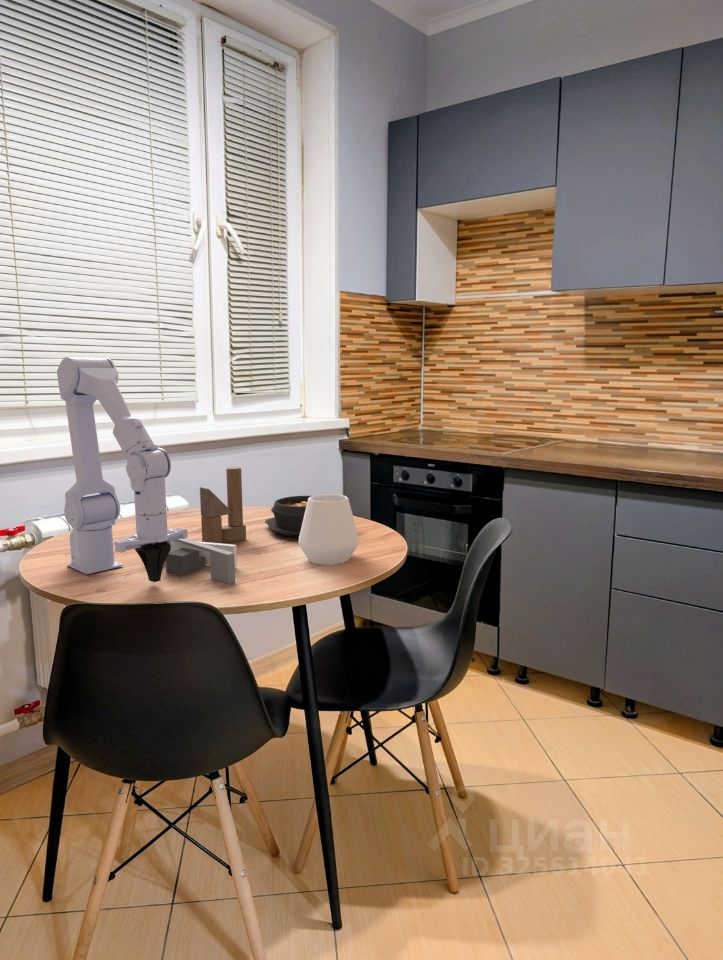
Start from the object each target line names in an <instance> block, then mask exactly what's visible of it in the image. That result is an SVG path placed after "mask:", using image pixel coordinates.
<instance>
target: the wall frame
mask: <svg viewBox="0 0 723 960" xmlns="http://www.w3.org/2000/svg"><path fill="white" fill-rule="evenodd" d="M173 541H176V542H179V543H183V544H186V545H189V546H192V547H195V548H199V549H202V550H205V551H208V552H210V565H209V566H210V578H211V579H212V580H216V581H219V582H221V583H224V584H227V585H231V584H234V583H236V569H235V568H236V567H235V561H234V553H233V552H229V551H226V550H223V549H219V548H216V547H213V546H209V545H206V544H203V543H199V542H200V541H198V542H196V540H193V539H189V538H186V539H182V538H181V539H177V540H173ZM167 544H170V541H168V542H167ZM165 563H166V560H165Z"/></svg>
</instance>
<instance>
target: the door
mask: <svg viewBox="0 0 723 960" xmlns="http://www.w3.org/2000/svg"><path fill="white" fill-rule="evenodd" d="M195 541H196V540H195ZM196 542H199V543H203V544H206V545H209V546H213V547H216V548H219V549H223V550H226V551H229V552H233V553H234V561H235V568H236V567H237V566H238V562H237V561H238V559H237V558H238V557H237V553H238V552H237V544H232V543H222V544H221V543H210V542H202V541H198V540H197V541H196ZM170 545H171V550H170V552H171V551H174V550H177V549H180V548H187V549H193V550H199V556H201V557H205V560H206V566H207V565H208V566H210V552H208V551H205V550H202V549H199V548H195V547H192V546H189V545H186V544H183V543H179V542H176V541H173V540H172V541H170Z"/></svg>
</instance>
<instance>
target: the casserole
mask: <svg viewBox="0 0 723 960" xmlns="http://www.w3.org/2000/svg"><path fill="white" fill-rule="evenodd" d="M311 496H312V495H296V496H295V495H294V496H293V495H292V496H287V497H286V496H285V497H281V498H279V499H276V500H275V501H274V504H273V507H271V509H270V511H271V512H272V514H273V517H270V518H268V519H265V521H264V523H265V524H266V525H267V527H268V529H269V530H271V531H273V532H275V533H277V534H278V533H279V534H281V535H284V536H287V537H292V538H299V535H300V531H301V527H302V523H303V518H304V514H305V510H306V506H307V502H308V498H309V497H311Z"/></svg>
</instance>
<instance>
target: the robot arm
mask: <svg viewBox="0 0 723 960" xmlns="http://www.w3.org/2000/svg"><path fill="white" fill-rule="evenodd" d="M56 375H57V382H58V391H59V395H60V399H61V400H63V401H64V403H65V409H66V417H67V423H68V430H69V436H70V437H69V438H70V445H71V451H72V452H71V453H72V461H73V467H74V475H75V479H76V481H75V483H74V484H73V485H72V486H71V487H70V488H68V490H67V491H66V492H65V493H64V498H65V499H64V500H65V501H64V502H65V503H64V504H65V505H64V509H63V511H64V516H65V520H66V522H67V523H68V525H69V526H70V527H71V531H70V534H69V548H70V561H71V562H68V563H67V565H66V566H68V567H70V568H72V569H74V570H76V571H79V572H81V573H83V574H85V575H90V574H94V573H95V574H96V573H100V572H104V571H108V570H111V569H116V568H121V567H123V566H124V565H123V563H121V562H118V561H115V552H118V553H121V554H122V553H125V552H127V551H129V550H131V551H132V550H135V552H136V554H137V555H138V557H139V558H140V559H141V562H142V563H143V566H144V569H145V571H146V574H147V578H148V581H150V582H152V583H156V582H160V581H161V580H162V574H163V569H164V565H165V564H166V562H165V560H166V558H167V556H168V554H169V552H170V550H171V545H170V544H167V542H168V541H172V540H177V539H181V538H182V539H189V538H188V528H184V527H177V528H176V527H175V528H169V529H168V517H167V516H168V514H167V499H166V498H167V496H166V494H167V493H166V478H168V476H169V475H170V473H171V468H172V464H171V463H172V462H171V458H170V456H169V454H168V452H167V451H166V450H165V449H164V448H161V447H160V446H159V445H158V444H155V443H154V441H153V440H152V438H151V436H150V435H149V433H148V431H147V429H146V427H145V426H144V424H143V423H142V421H141V419H139V418H138V417H137V418H136V417H133V416H132V414H131V412H130V410H129V408H128V406H127V404H126V401H125V398H124V397H123V394H122V393H121V390H120V387H119V386H118V382H119V371H118V369H117V366H116V365H115V363H114V361H113V360H112V359H111V358H109V357H71V356H67V357H66V356H65V357H63V359H62V360H61V362H60V364H59V365H58V367H57V370H56ZM97 400H98V402H99V404H100V405H101V406H102V408H103V410H104V411H105V413H106V414H107V415H108V417H109V418H110V420H111V421H112V423H113V424H114V428H113V430H112V434H113V436H114V439H116V441H117V444H118V445H119V448H120V449H121V451H122V453H123V455H124V457H125V458H126V460H127V461H126V465H125V470H126V471H125V472H126V474H127V476H128V478H129V480H130V487H131V490H132V491H133V493H134V495H133V496H134V507H135V508H134V513H135V514H134V516H135V528H136V531H135V532H136V534H134V535H131V536H128V537H125V538H122V539H117V540H115V541H114V536H113V526H115V525H116V521H117V520H118V519H119V517H120V513H121V505H120V501H119V499H118V497H117V494H116V489H115V486H114V485H112V484H111V483H109V482H108V481H106V480H105V479H104V478H103V469H102V462H101V455H100V448H99V442H98V441H99V440H98V433H97V426H96V419H95V412H94V404H95V403H96V401H97ZM93 494H94V495H93ZM87 495H88V496H87ZM89 495H90V496H89Z"/></svg>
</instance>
